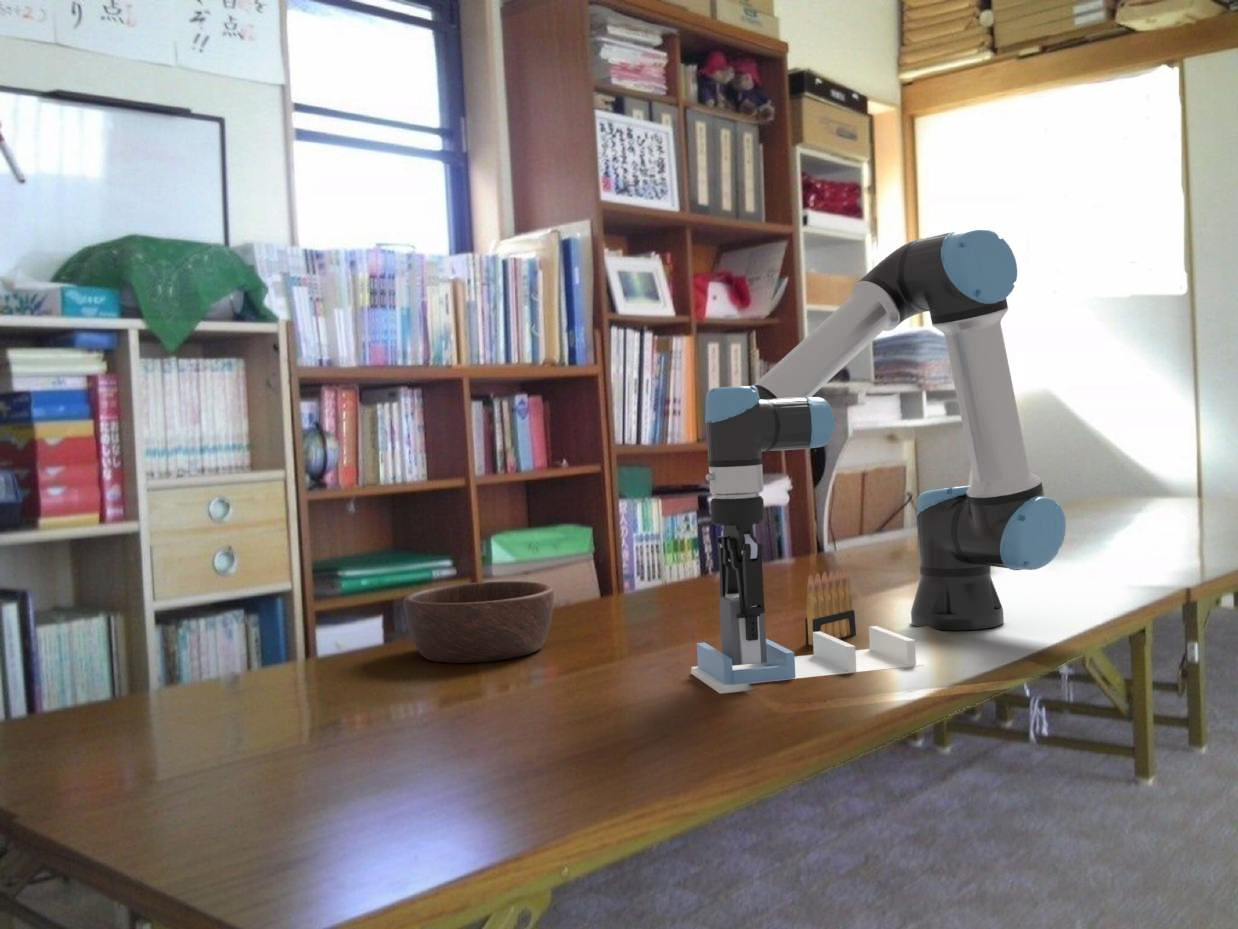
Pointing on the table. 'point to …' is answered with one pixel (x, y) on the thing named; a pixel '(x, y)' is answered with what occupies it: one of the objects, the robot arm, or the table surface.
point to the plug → (736, 629)
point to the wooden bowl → (480, 620)
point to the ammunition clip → (830, 606)
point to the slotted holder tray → (805, 661)
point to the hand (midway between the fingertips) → (744, 658)
